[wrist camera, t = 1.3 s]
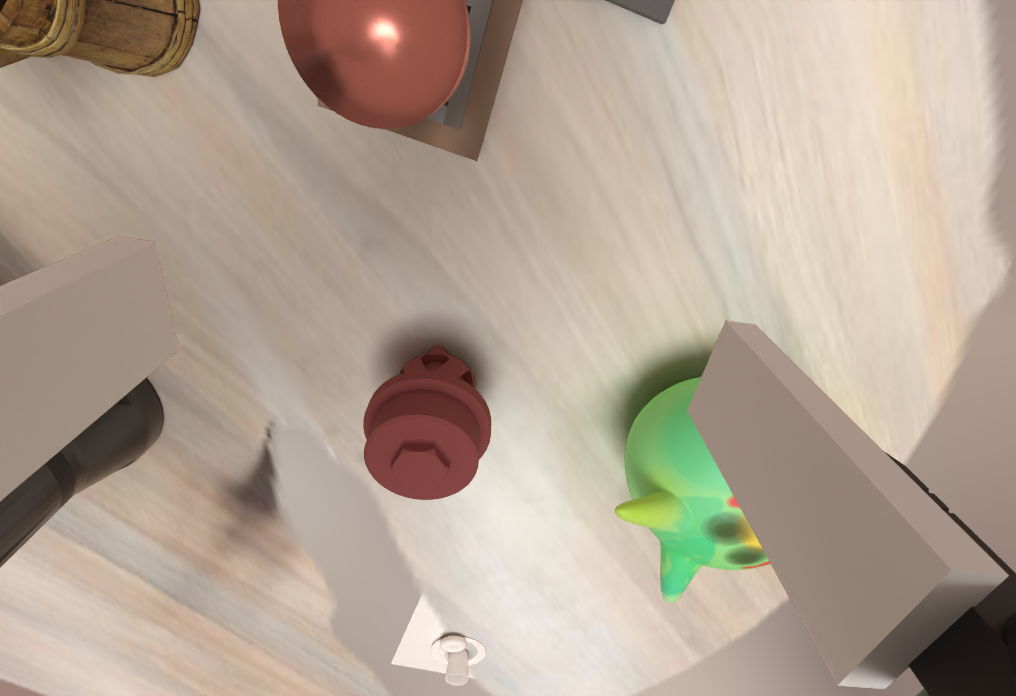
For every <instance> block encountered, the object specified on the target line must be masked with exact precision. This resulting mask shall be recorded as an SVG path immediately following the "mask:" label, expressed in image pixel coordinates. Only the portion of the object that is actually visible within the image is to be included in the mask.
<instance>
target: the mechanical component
mask: <svg viewBox="0 0 1016 696" xmlns="http://www.w3.org/2000/svg"><path fill="white" fill-rule="evenodd" d="M363 427H364V433H365V436H366V439H367V441H366V444H365V448H364V460H365V463H366V466H367V468H368V470H369V472H370V474H371V475H372V476H373V478H374V479H375V480H376V481H377V482H378V483H379V484H381V485H382V486H383V487H384V488H386V489H388V490H390V491H391V492H393V493H396V494H398V495H401V496H404V497H407V498H412V499H420V500H433V499H440V498H444V497H447V496H450V495H453V494H455V493H457V492H459V491H460V490H462V489H463V488H465V487H466V486H467V485H468V484H469V483H470V482H471V481H472V479H473V478H474V476H475V474H476V471H477V468H478V462H479V459H480V458H481V457H482V456H483V454H484V453H485V451H486V450H487V447H488V445H489V442H490V437H491V416H490V411H489V408H488V406H487V404H486V402H485V400H484V399H483V397H482V396H481V395H480V394H479V392H478V391H477V390H476V382H475V378H474V375H473V374H472V372H471V370H470V369H469V368H468V366H467V365H466V364H464V363H463V362H462V361H461V360H459V359H457V358H456V357H453V356H451V355H448V354H447V351H446V349H445V348H444V347H442V346H433V347H432V348H431V349H430V350H429V353H425V354H421V355H419V356H416V357H414V358H413V359H411V360H410V361H408V362H407V363H406V364H405V365H404V367H403V368H402V370H401V372H400V374H399V375H397V376H395V377H393V378H391V379H389V380H388V381H386V382H384V383H383V384H382V385H381V386H380V387H379V388H378V389H377V390H376V391H375V393H374V394H373V396H372V398H371V400H370V402H369V404H368V407H367V409H366V412H365V416H364V426H363Z"/></svg>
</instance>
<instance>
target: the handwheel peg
mask: <svg viewBox="0 0 1016 696" xmlns="http://www.w3.org/2000/svg"><path fill="white" fill-rule="evenodd" d="M278 11H279V21H280V25H281V30H282V35H283V38H284V41H285V44H286V48H287V50H288V53H289V55H290V57H291V60H292V62H293V64H294V66H295V67H296V69H297V71H298V73H299V74H300V76H301V77H302V79H303V80H304V82H305V83H306V85H307V86H308V87H309V88H310V90H311V91H312V92H313V93H314V94H315V95H316V96H317V97H318V98H319V99H320V100H321V101H322V102H323V103H324V104H325V105H326V106H328V107H329V108H330V109H332V110H333V111H334V112H336V113H337V114H339V115H341V116H342V117H344V118H346V119H348V120H350V121H352V122H355V123H357V124H360V125H364V126H367V127H372V128H380V129H392V128H399V127H404V126H407V125H410V124H413V123H415V122H418V121H420V120H422V119H424V118H425V117H427V116H429V115H431V114H432V113H434V112H435V111H437V110H438V109H440V108H441V107H442V106H443V105H444V104H445V103H446V102H447V101H448V100H449V99H450V97H451V96H452V95H453V94H454V92H455V91H456V89H457V87H458V86H459V84H460V82H461V80H462V78H463V75H464V73H465V70H466V66H467V63H468V58H469V53H470V43H471V28H470V19H469V12H468V8H467V4H466V0H278Z"/></svg>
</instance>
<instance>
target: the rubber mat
mask: <svg viewBox="0 0 1016 696" xmlns="http://www.w3.org/2000/svg"><path fill="white" fill-rule="evenodd" d="M606 1H609V2H611V3H613V4H616V5H618V6H620V7H623V8H625V9H627V10H630V11H632V12H634V13H637V14H639V15H641V16H644V17H646V18H648V19H651V20H653V21H655V22H658V23H660V24H664V23H666V20H667V18H668V16H669V13H670V11H671V8H672V6H673V3H674V1H675V0H606Z"/></svg>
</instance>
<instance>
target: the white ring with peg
mask: <svg viewBox="0 0 1016 696" xmlns="http://www.w3.org/2000/svg"><path fill="white" fill-rule="evenodd" d="M466 642H469V643H471V644H473V645H474V646H475V647H476V648H477V650H478V653H477V655H476V656H475V657H474V658H473V659H471V660H468V655H467V652H466V650H465V647H466ZM429 652H430V655H431V657H432V658H433V659H434V660H435V661H436V662H438V663H439V664H442V665H444V666H446V670H445V673H446V677H445V679H446V682H447V683H449V684H451V685H463V684H465V683H466V682H467V681H468V678H469V673H468V666H470V665H474V664H476V663H478V662H480V661H481V660H482V659H483V658H484V657H485V654H486V650H485V647H484V646H483V645H482V644H481V643H480V642H478V641H476V640H474V639H471V638H468V637H461V636H444V637H443V638H440V639H438V640H437V641H435V642H434V643H433V644H432V645H431V647H430V650H429Z"/></svg>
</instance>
